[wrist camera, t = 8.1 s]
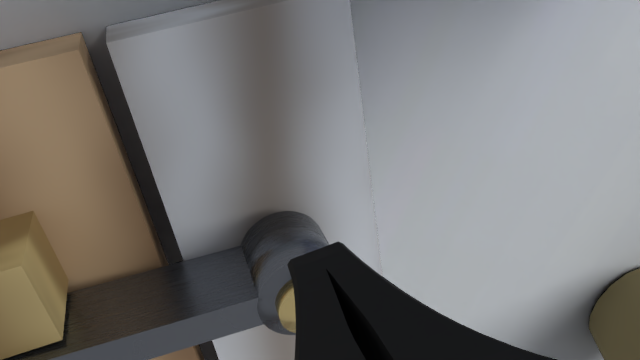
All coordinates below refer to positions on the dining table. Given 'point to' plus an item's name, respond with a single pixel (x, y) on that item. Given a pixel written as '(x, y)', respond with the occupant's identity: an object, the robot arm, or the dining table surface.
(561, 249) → the dining table surface
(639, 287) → the squeeze bottle
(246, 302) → the lock bar
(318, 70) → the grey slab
